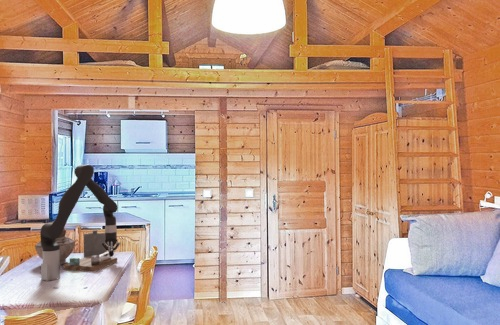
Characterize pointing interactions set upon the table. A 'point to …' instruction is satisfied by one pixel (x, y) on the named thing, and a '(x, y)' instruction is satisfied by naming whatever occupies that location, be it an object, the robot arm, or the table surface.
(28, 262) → the table surface
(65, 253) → the ceramic pot
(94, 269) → the lock board
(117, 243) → the robot arm
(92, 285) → the table surface
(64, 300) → the table surface
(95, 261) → the bar
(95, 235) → the hip flask
